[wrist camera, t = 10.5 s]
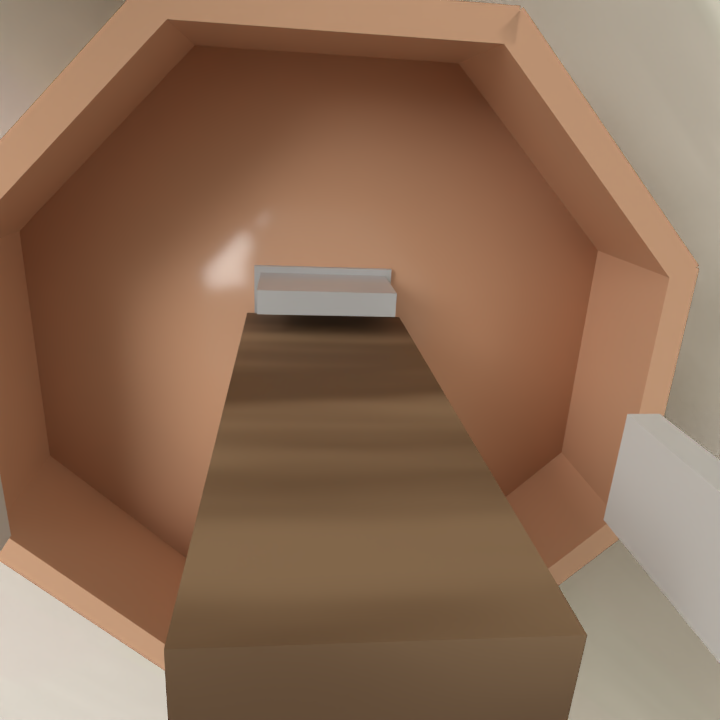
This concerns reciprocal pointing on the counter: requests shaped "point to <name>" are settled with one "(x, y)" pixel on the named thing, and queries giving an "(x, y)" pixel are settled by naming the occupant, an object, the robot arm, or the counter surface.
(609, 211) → the octagonal terracotta bowl
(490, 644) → the wooden rectangular block
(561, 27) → the counter surface
